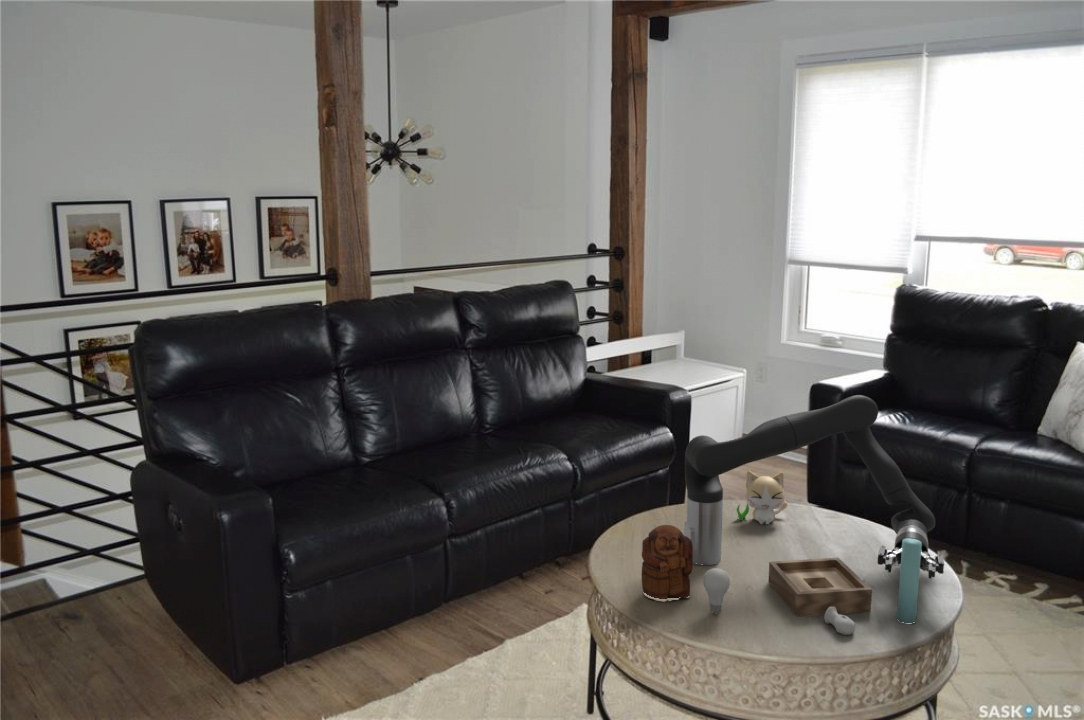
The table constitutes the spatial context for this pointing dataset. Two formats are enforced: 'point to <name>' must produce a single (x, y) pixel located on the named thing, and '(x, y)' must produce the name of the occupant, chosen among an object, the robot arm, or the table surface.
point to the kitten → (764, 497)
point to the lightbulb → (716, 587)
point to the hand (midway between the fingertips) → (909, 571)
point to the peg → (909, 580)
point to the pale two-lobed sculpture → (839, 621)
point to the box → (819, 586)
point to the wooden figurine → (666, 563)
